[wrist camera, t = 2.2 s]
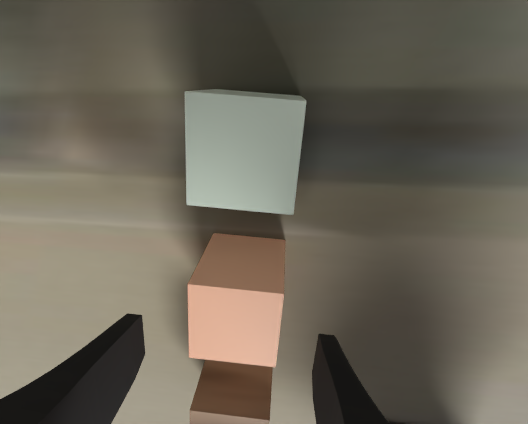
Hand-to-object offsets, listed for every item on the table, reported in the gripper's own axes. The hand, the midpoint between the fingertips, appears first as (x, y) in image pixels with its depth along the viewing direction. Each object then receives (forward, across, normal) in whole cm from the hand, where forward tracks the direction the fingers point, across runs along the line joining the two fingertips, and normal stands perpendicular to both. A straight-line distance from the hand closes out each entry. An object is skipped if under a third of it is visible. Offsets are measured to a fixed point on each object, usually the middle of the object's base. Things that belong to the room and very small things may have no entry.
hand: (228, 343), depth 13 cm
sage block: (+6, 0, -7) cm, 10 cm away
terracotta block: (+6, 0, 0) cm, 6 cm away
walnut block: (+6, 0, +8) cm, 10 cm away
